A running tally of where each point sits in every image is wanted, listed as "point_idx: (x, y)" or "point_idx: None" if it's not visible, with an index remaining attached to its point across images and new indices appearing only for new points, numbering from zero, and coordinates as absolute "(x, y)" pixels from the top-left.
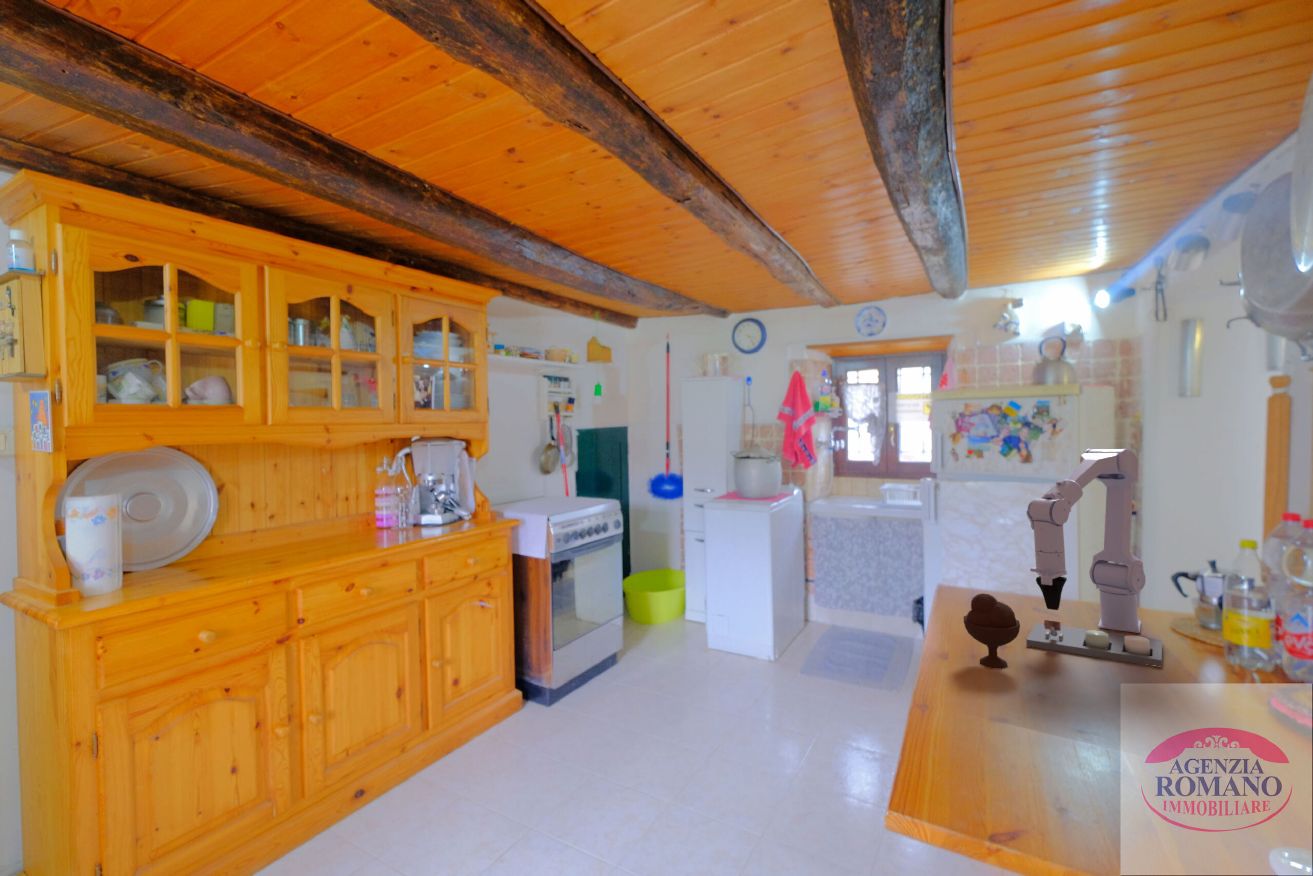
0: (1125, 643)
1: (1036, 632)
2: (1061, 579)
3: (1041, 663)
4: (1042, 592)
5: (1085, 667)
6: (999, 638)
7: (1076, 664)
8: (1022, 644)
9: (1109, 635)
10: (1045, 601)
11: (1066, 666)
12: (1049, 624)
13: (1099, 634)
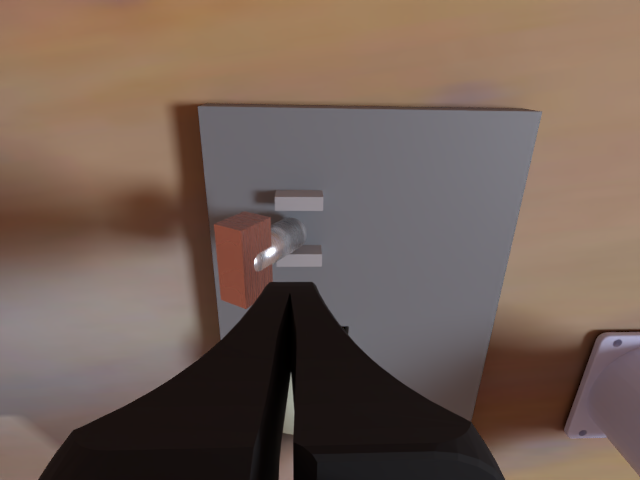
0: (283, 458)
1: (351, 138)
2: None
3: (5, 195)
4: (202, 357)
5: (88, 330)
6: None
7: (98, 304)
8: (220, 79)
9: (439, 389)
10: (251, 308)
11: (47, 278)
12: (218, 252)
13: (288, 411)
